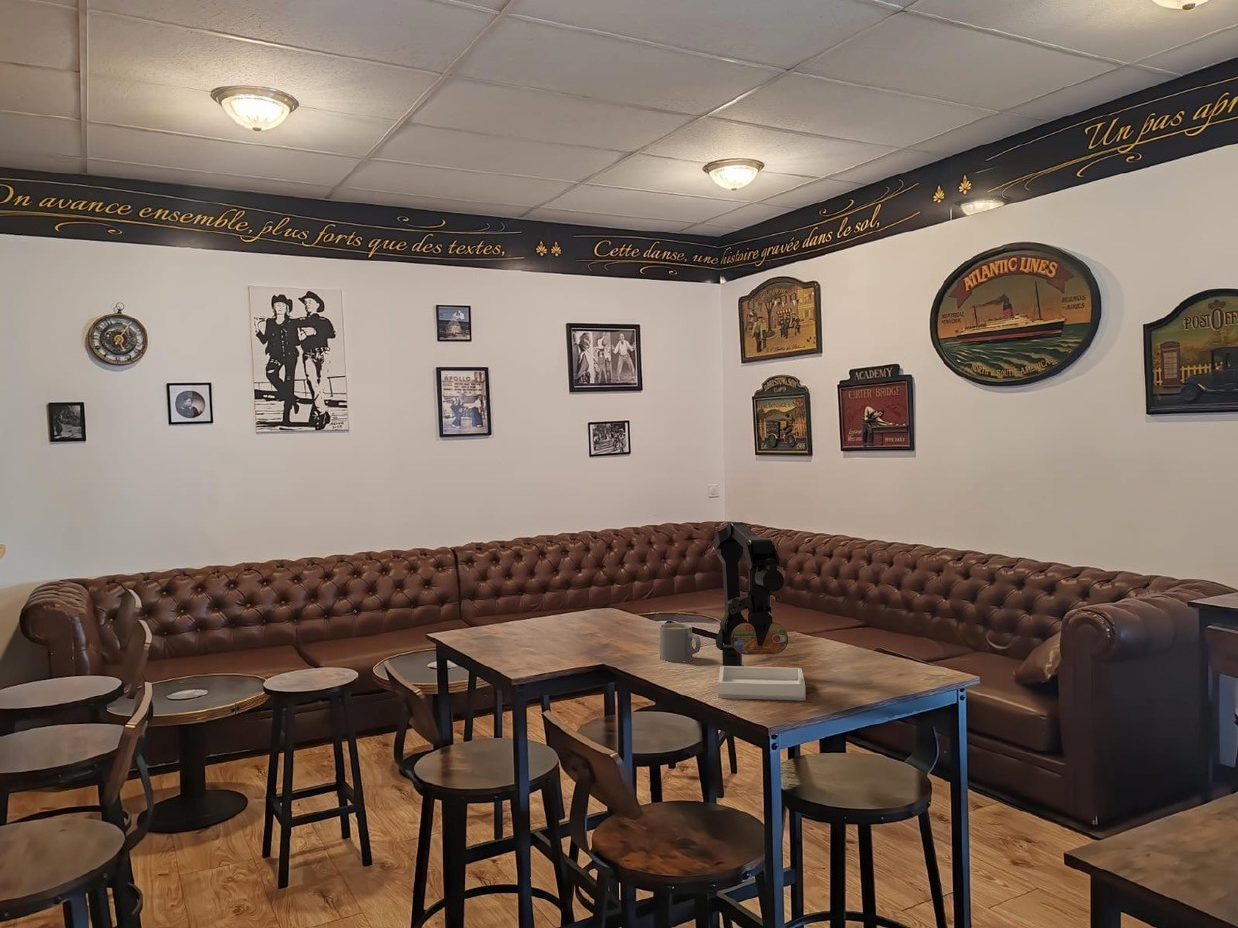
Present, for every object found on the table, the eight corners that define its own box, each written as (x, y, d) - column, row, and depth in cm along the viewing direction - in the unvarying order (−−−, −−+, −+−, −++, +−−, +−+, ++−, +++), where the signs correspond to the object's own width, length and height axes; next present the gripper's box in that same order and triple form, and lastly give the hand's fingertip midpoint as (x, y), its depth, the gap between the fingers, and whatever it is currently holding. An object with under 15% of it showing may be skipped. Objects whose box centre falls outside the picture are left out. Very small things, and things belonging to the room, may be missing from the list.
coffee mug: (653, 658, 277) (653, 626, 277) (675, 653, 284) (675, 621, 284) (685, 665, 267) (684, 632, 267) (707, 660, 274) (707, 627, 274)
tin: (731, 655, 239) (730, 623, 239) (731, 652, 242) (730, 621, 242) (788, 654, 237) (787, 622, 237) (788, 652, 240) (787, 620, 240)
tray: (720, 680, 250) (720, 665, 250) (801, 682, 247) (801, 667, 247) (718, 697, 232) (718, 682, 232) (805, 700, 229) (805, 684, 229)
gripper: (730, 580, 250) (730, 637, 250) (728, 591, 231) (728, 652, 231) (770, 581, 248) (771, 637, 248) (772, 591, 230) (772, 653, 230)
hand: (760, 644), depth 239 cm, fingers closed on tin, 2 cm apart
